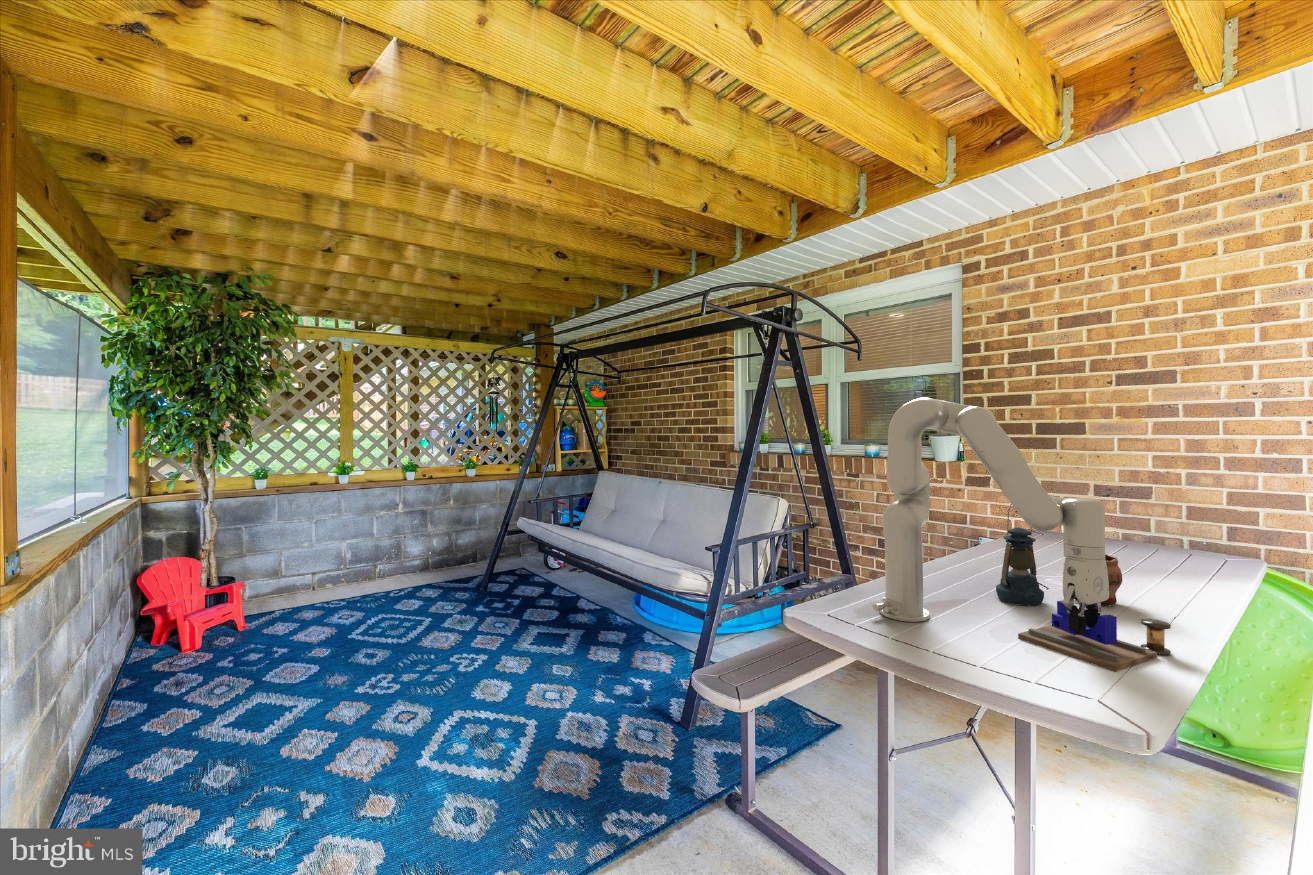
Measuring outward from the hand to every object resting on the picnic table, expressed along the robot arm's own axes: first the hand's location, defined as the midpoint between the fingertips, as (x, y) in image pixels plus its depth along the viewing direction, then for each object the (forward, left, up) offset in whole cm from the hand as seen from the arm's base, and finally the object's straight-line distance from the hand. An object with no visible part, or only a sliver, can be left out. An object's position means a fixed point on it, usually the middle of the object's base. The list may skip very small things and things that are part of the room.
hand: (1084, 629), depth 125 cm
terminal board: (0, 0, -4) cm, 4 cm away
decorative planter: (+37, +17, -5) cm, 41 cm away
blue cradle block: (0, 0, -2) cm, 1 cm away
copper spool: (+12, -8, -4) cm, 15 cm away
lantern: (+21, +28, -5) cm, 35 cm away
